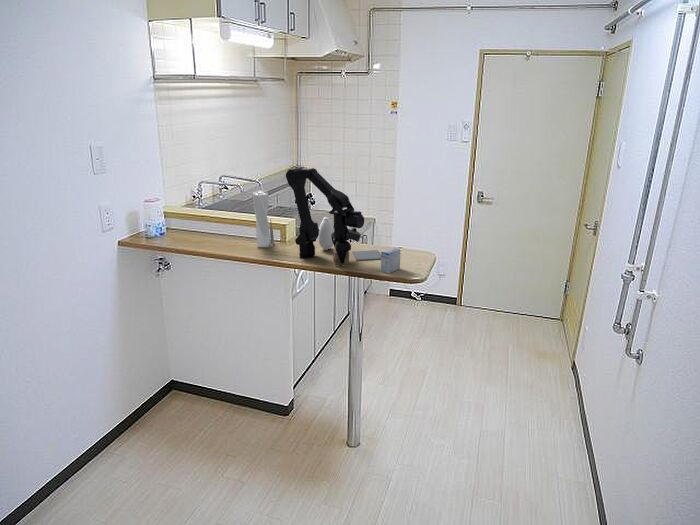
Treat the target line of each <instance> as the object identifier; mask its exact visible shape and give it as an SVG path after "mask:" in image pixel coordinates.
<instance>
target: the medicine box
mask: <svg viewBox="0 0 700 525" xmlns="http://www.w3.org/2000/svg"><path fill="white" fill-rule="evenodd" d="M380 254H381V260H380V272H382V273H386V274H391V273H394V272H395V271H397V270H399V269H401V268H400V267H401V249H400V248H397V247H393V246H392V247H389V248H387V249H385V250H383V251H380Z"/></svg>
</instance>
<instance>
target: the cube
mask: <svg viewBox="0 0 700 525" xmlns="http://www.w3.org/2000/svg"><path fill="white" fill-rule="evenodd" d="M332 252H333V260H332V261H333V264H334V266H335V265H347V266H350V251H348V252H347V253H346V256H345V260H344V263H341V262H340V259H339V257H338V254H337V252H336V249H335V248H333V249H332Z"/></svg>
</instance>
